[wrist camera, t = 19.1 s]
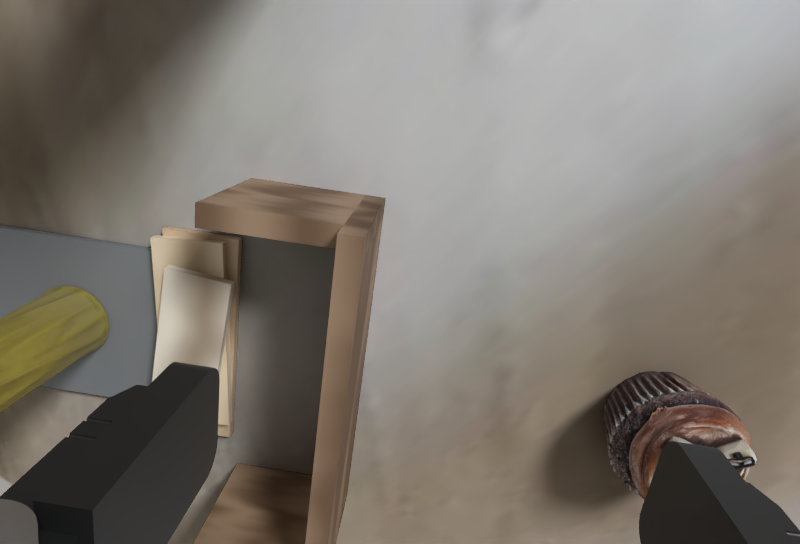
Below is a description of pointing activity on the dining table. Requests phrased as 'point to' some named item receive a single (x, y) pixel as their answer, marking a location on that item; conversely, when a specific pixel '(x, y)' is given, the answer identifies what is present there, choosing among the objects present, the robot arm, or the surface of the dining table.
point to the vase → (47, 339)
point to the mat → (105, 280)
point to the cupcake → (668, 426)
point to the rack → (218, 334)
